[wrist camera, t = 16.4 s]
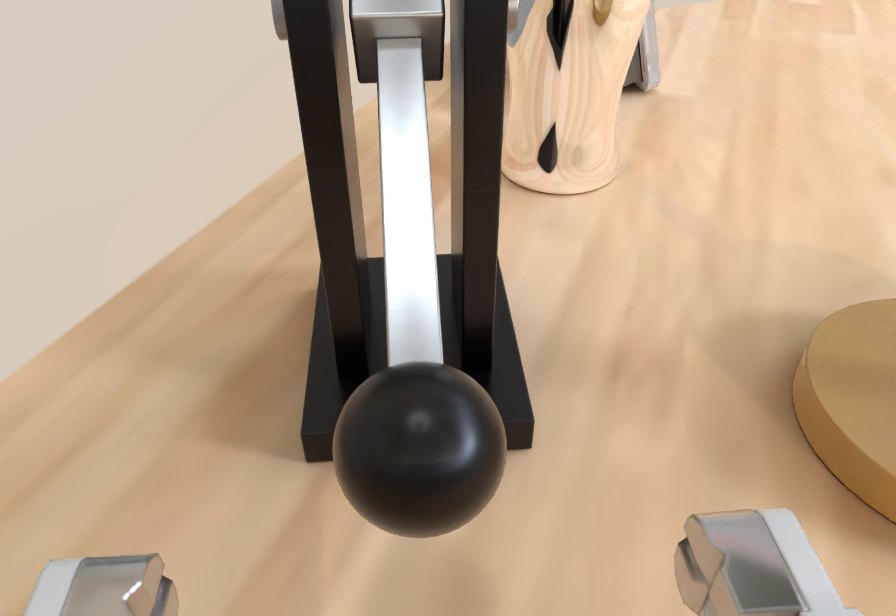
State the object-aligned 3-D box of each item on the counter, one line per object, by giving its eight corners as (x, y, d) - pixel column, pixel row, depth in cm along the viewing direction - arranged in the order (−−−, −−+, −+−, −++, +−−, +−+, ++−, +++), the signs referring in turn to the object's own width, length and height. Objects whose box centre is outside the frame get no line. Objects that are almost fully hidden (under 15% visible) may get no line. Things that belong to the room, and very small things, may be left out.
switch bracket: (532, 449, 22) (582, -28, 13) (305, 463, 22) (203, -19, 13) (495, 277, 29) (512, -109, 20) (324, 285, 28) (266, -104, 20)
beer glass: (601, 131, 39) (647, -198, 30) (646, 194, 34) (719, -184, 24) (479, 140, 39) (486, -194, 29) (505, 205, 33) (524, -179, 24)
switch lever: (504, 535, 15) (526, 526, 12) (343, 547, 15) (321, 540, 12) (457, 11, 20) (463, -96, 17) (336, 14, 20) (318, -93, 16)
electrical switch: (661, 94, 43) (678, -72, 37) (583, 111, 43) (588, -55, 37) (597, 45, 50) (602, -101, 44) (529, 59, 50) (525, -87, 44)
